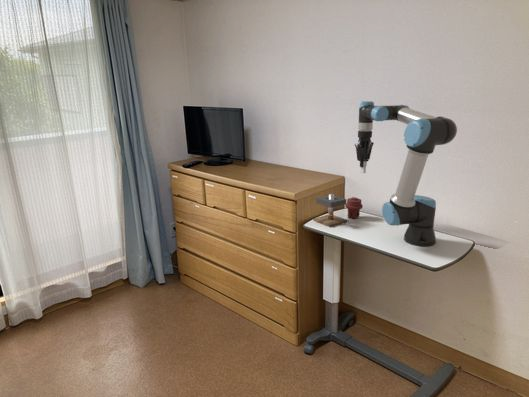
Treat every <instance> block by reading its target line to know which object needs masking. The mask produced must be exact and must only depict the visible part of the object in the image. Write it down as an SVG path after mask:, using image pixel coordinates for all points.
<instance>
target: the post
mask: <svg viewBox="0 0 529 397" xmlns="http://www.w3.org/2000/svg"><path fill="white" fill-rule="evenodd" d="M328 196H329V200H334V196H335V194H334V193H328ZM334 208H335V207H332V208H330V207H328V208H327V212H328V213H327V215H328V220H333V215H334V210H335V209H334Z"/></svg>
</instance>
